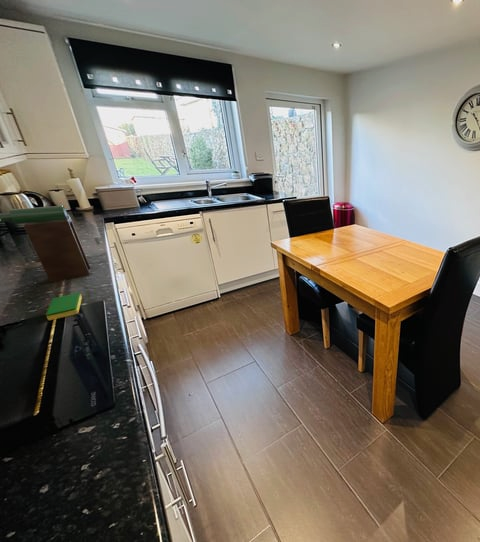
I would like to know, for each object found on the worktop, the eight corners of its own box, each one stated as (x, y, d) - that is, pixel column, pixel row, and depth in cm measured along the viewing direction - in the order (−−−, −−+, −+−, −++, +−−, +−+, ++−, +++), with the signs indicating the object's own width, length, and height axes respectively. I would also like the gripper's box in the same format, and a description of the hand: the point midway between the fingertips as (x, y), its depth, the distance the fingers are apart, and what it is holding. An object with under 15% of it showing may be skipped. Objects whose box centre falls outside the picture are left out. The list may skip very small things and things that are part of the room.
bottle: (-23, 228, 91) (-31, 213, 89) (-18, 225, 95) (-26, 210, 93) (67, 220, 104) (61, 206, 102) (68, 217, 107) (63, 204, 105)
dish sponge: (48, 321, 90) (45, 315, 89) (55, 303, 100) (52, 297, 99) (78, 314, 94) (75, 308, 93) (82, 298, 104) (79, 292, 103)
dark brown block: (50, 282, 114) (21, 222, 104) (53, 274, 121) (27, 217, 111) (90, 275, 121) (66, 218, 111) (90, 268, 128) (69, 213, 118)
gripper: (-74, 243, 81) (-21, 214, 86) (-46, 228, 96) (-3, 204, 100) (-46, 258, 85) (3, 230, 90) (-23, 241, 100) (18, 218, 104)
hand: (0, 216), depth 95 cm, fingers closed on bottle, 2 cm apart
